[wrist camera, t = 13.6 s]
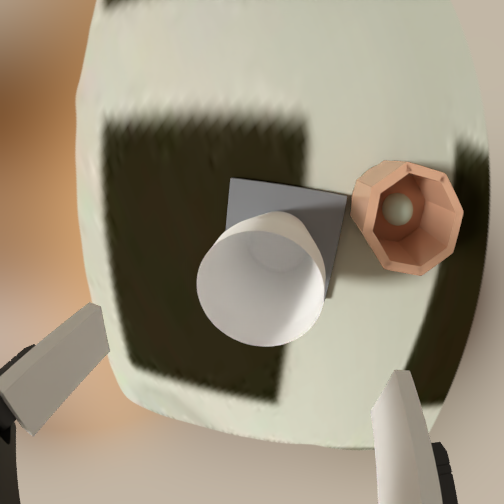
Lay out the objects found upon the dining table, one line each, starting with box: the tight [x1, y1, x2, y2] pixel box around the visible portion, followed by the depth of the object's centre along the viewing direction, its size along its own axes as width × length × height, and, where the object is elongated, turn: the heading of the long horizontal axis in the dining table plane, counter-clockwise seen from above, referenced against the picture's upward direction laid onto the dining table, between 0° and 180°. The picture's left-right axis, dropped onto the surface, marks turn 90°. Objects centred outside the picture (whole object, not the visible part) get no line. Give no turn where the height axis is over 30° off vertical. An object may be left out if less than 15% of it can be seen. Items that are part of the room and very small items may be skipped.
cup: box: [197, 211, 326, 346], centre depth 24 cm, size 9×9×12 cm
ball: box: [382, 193, 413, 226], centre depth 24 cm, size 3×3×3 cm
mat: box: [226, 178, 347, 301], centre depth 30 cm, size 12×12×1 cm
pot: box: [350, 160, 463, 276], centre depth 23 cm, size 9×9×8 cm
